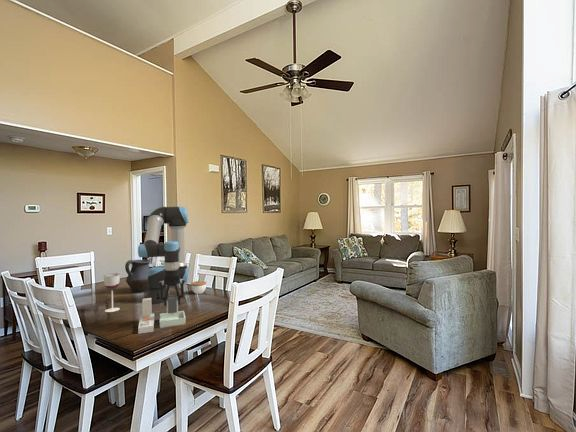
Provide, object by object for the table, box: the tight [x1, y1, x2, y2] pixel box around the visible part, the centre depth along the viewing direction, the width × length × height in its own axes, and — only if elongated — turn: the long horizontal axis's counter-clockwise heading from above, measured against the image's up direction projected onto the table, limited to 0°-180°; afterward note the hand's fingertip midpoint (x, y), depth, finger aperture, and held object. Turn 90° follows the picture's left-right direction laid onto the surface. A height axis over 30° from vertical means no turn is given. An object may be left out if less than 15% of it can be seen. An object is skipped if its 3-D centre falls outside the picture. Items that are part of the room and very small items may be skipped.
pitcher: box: [124, 259, 151, 294], centre depth 232 cm, size 21×22×25 cm
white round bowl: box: [191, 280, 207, 295], centre depth 227 cm, size 11×11×9 cm
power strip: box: [137, 313, 155, 335], centre depth 166 cm, size 26×7×4 cm, turn 23°
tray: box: [159, 310, 187, 329], centre depth 168 cm, size 13×13×4 cm
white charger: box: [141, 297, 153, 316], centre depth 169 cm, size 5×4×9 cm
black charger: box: [167, 295, 178, 315], centre depth 168 cm, size 5×4×9 cm
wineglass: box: [103, 272, 121, 313], centre depth 189 cm, size 9×10×22 cm
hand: (172, 311), depth 168 cm, fingers closed on black charger, 4 cm apart
